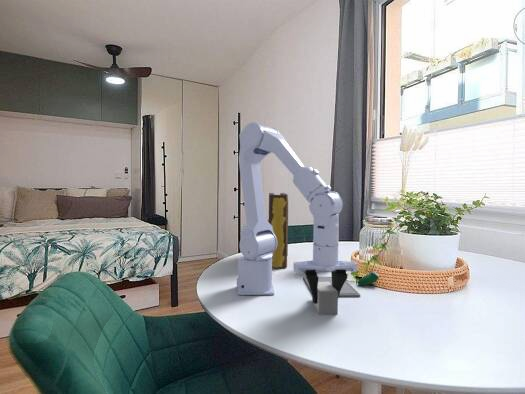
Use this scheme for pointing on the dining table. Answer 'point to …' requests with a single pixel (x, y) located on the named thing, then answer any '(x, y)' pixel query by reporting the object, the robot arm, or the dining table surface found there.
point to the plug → (326, 299)
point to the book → (279, 228)
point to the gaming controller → (368, 279)
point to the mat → (345, 290)
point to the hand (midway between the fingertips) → (324, 301)
